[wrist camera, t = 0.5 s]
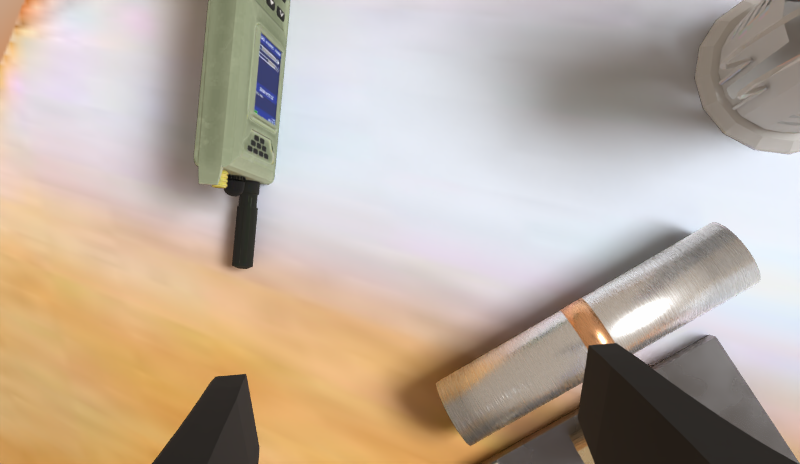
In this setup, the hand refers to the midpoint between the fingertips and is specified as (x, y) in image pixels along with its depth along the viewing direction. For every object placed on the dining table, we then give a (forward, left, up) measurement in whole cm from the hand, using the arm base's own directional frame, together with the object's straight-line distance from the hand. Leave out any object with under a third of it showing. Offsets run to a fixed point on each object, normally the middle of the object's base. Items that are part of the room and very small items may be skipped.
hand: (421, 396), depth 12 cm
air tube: (-4, -6, -24) cm, 25 cm away
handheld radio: (+20, +3, -24) cm, 32 cm away
